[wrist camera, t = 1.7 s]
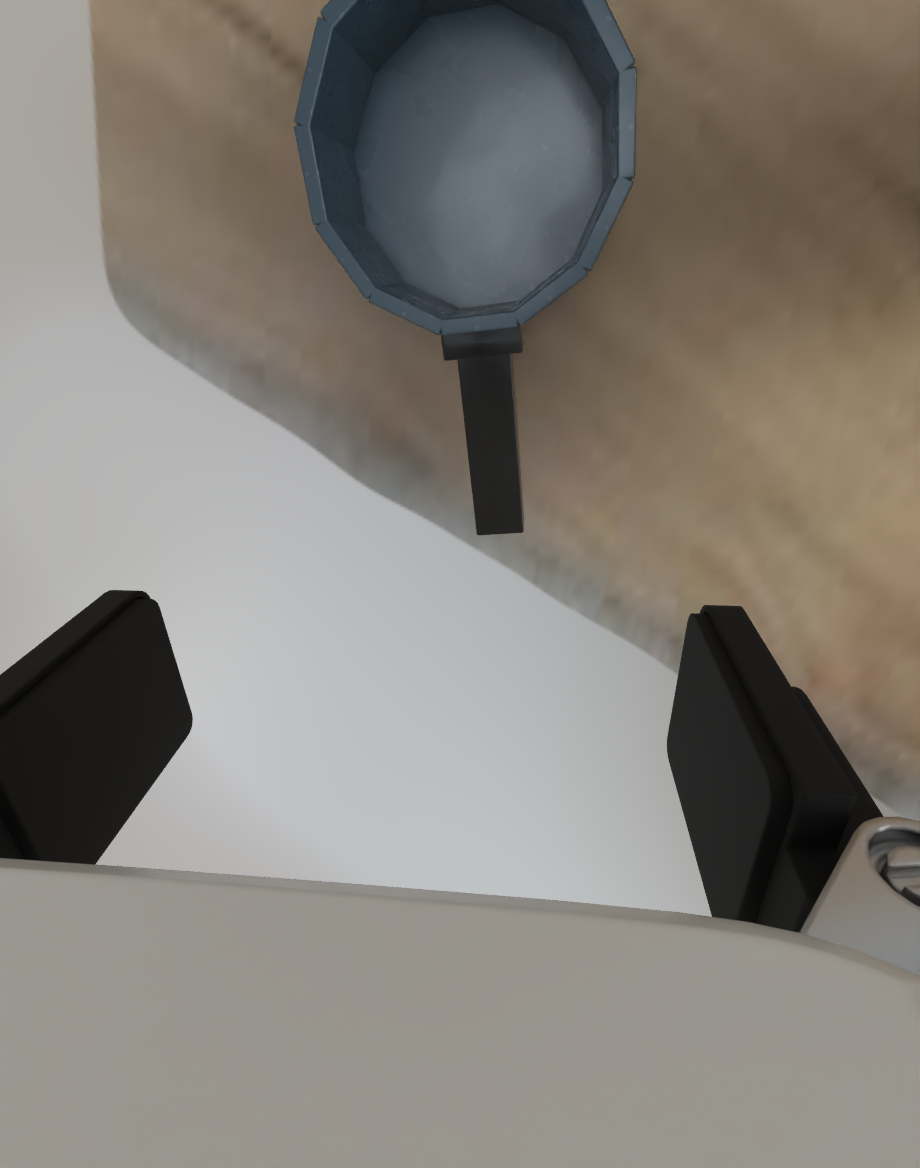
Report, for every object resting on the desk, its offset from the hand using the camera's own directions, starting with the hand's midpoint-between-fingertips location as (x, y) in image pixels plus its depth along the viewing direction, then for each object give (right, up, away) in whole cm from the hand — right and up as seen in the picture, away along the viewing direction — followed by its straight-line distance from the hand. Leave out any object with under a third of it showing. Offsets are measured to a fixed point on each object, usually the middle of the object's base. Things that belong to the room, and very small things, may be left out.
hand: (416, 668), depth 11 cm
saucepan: (+2, +15, +18) cm, 24 cm away
